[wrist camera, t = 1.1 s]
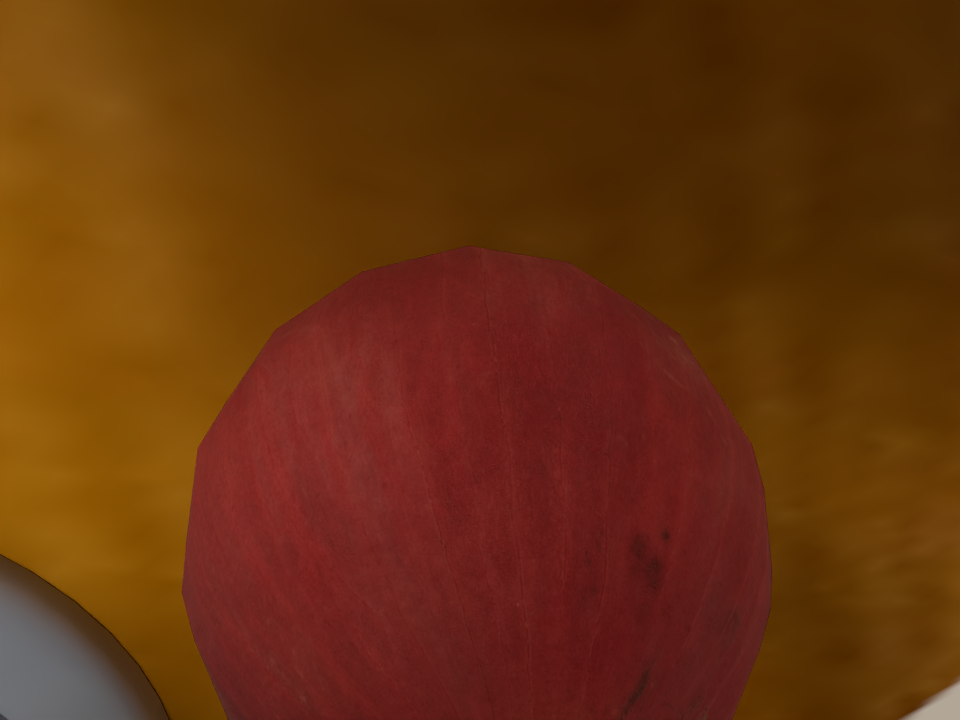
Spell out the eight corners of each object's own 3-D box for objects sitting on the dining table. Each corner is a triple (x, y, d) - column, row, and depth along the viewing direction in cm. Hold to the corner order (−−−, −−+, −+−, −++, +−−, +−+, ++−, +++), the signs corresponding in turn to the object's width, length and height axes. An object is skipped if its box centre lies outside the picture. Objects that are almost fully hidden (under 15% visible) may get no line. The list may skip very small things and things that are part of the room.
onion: (707, 406, 14) (1104, 947, 7) (393, 600, 15) (449, 1264, 7) (503, 75, 11) (797, 389, 4) (133, 333, 12) (-155, 964, 5)
